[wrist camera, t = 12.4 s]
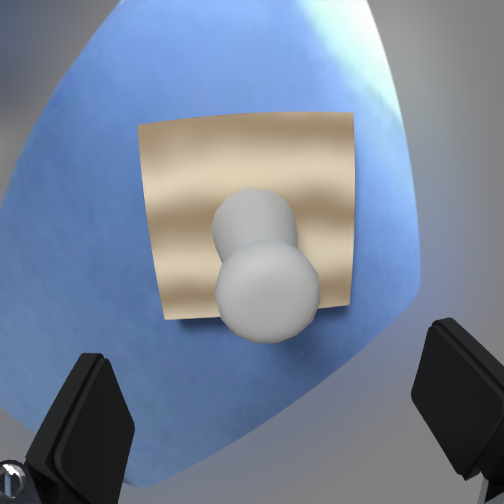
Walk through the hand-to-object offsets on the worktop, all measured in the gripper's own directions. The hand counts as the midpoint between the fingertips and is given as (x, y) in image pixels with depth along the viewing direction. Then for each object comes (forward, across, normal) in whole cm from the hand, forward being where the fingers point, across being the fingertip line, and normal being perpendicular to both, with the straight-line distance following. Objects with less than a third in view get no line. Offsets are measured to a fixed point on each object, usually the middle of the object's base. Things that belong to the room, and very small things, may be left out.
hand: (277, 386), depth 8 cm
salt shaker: (+17, 0, -1) cm, 17 cm away
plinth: (+20, -1, -1) cm, 20 cm away
